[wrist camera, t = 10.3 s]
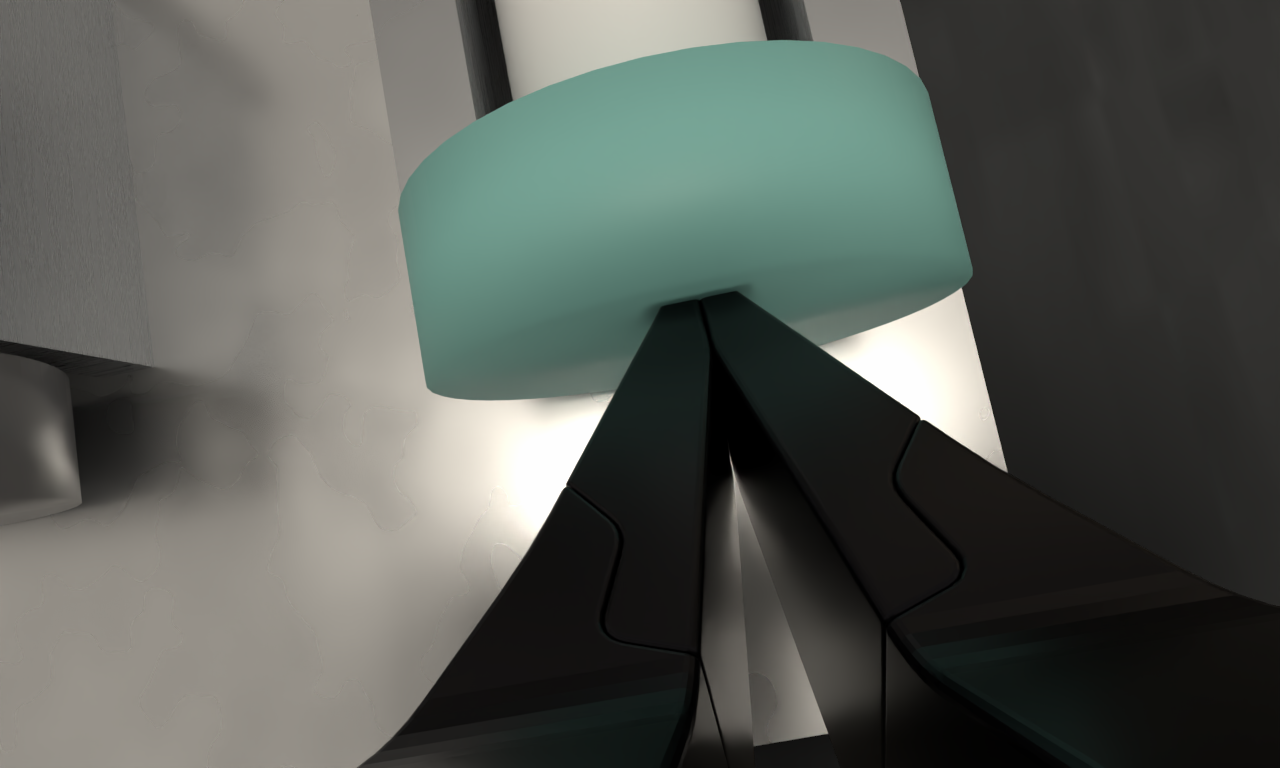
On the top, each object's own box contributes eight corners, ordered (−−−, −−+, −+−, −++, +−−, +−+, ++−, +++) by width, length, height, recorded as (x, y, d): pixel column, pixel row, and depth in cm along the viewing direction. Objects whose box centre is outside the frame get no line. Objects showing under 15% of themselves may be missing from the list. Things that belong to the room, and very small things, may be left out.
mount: (1044, 681, 15) (1363, 887, 8) (-152, 885, 17) (-818, 1212, 9) (809, -268, 18) (881, -786, 10) (-208, -7, 19) (-767, -295, 12)
